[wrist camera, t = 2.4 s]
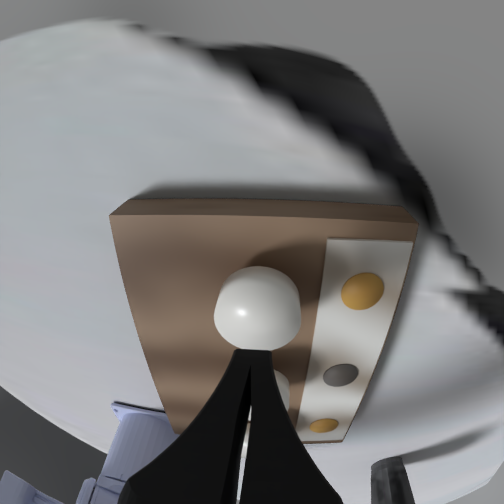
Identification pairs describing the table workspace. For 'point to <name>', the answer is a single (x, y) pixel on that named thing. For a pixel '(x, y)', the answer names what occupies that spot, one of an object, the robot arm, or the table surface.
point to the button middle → (281, 389)
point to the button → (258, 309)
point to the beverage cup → (390, 483)
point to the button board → (277, 257)
